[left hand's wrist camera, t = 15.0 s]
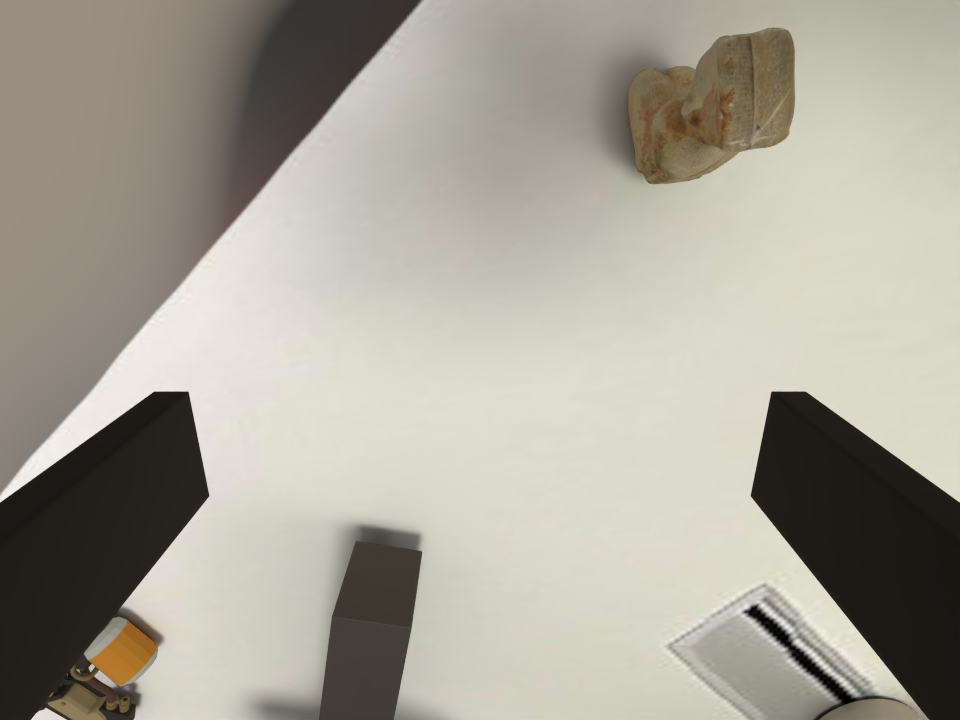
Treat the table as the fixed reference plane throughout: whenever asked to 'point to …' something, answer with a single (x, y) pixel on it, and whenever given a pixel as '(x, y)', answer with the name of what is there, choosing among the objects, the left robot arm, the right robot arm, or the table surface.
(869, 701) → the bust sculpture
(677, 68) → the sculpture
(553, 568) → the table surface
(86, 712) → the spray gun
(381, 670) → the bar
